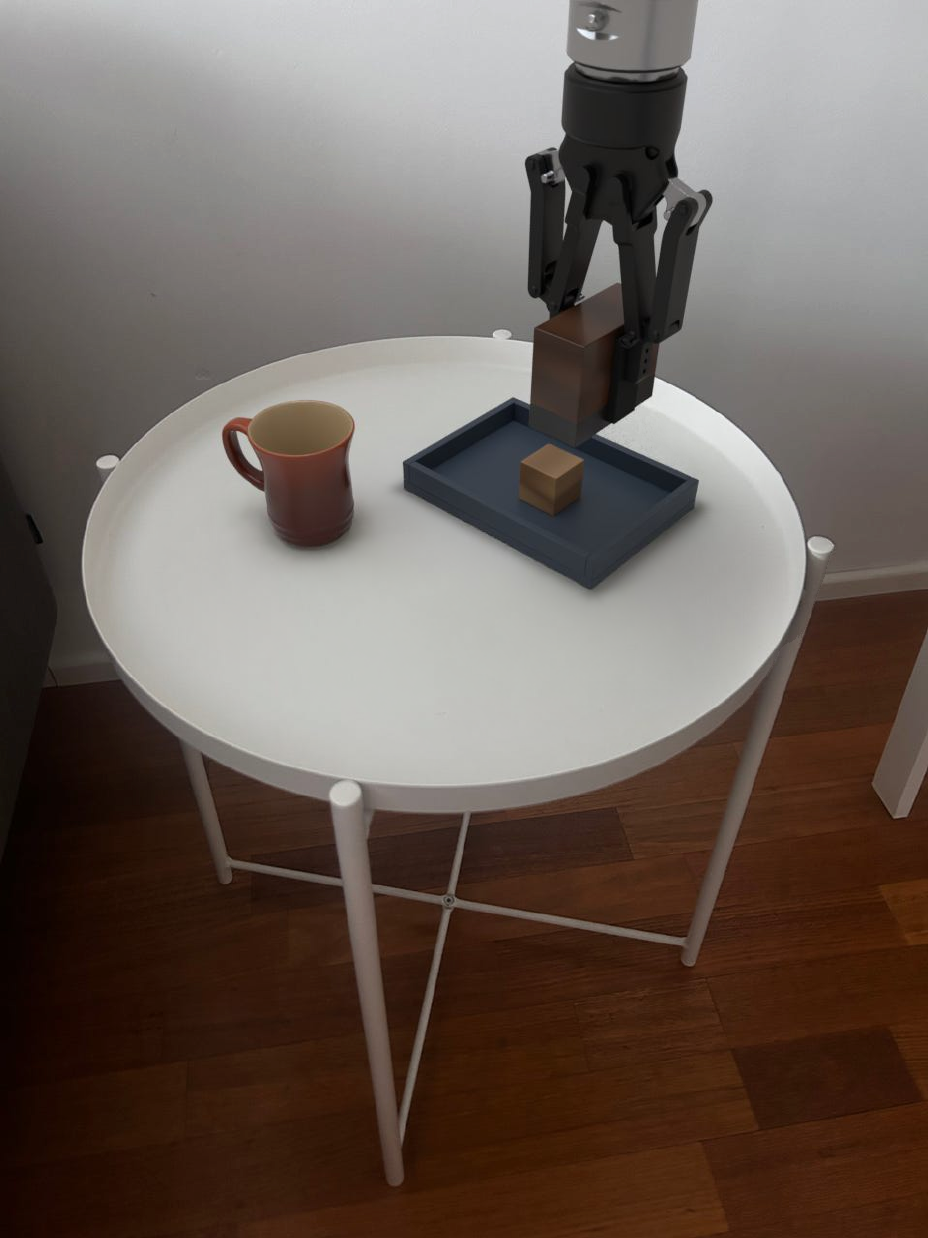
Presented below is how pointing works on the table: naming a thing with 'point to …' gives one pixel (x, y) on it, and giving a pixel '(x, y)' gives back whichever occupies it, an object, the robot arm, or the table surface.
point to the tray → (567, 542)
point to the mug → (299, 468)
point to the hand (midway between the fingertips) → (592, 402)
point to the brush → (579, 368)
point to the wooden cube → (551, 479)
